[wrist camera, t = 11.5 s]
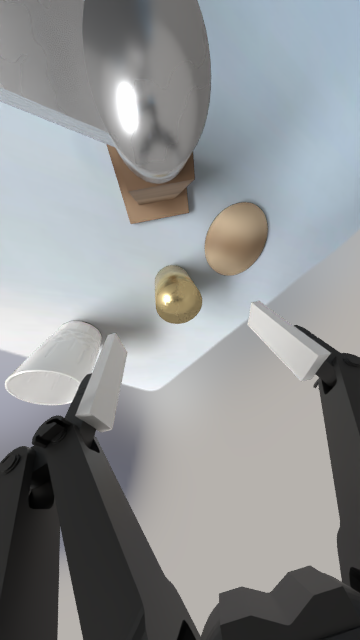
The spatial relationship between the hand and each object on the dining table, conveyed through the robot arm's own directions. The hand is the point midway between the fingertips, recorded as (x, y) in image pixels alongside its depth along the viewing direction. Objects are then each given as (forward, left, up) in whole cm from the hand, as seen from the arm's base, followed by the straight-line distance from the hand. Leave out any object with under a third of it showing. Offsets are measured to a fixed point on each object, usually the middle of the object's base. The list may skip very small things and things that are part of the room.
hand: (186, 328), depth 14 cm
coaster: (-4, +10, -11) cm, 15 cm away
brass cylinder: (0, 0, -11) cm, 11 cm away
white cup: (+6, -18, -11) cm, 22 cm away
